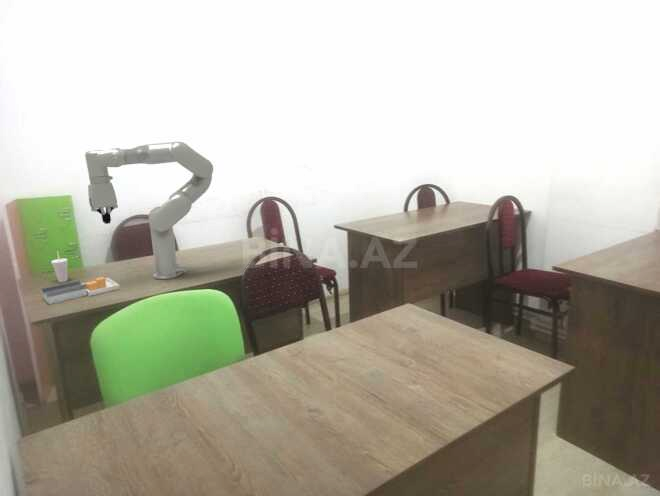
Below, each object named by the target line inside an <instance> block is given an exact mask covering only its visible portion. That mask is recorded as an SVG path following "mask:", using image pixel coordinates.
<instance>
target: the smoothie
mask: <svg viewBox="0 0 660 496" xmlns="http://www.w3.org/2000/svg"><path fill="white" fill-rule="evenodd" d="M56 255H57V259H52V260H51V261H50V263H51V265H52V267H53V270H54V274H55V276H56V278H57V283H66V282H68V281H69V277H68V276H69V275H68V258H60V253H59V251H58V250H57V251H56Z"/></svg>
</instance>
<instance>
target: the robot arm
mask: <svg viewBox="0 0 660 496" xmlns="http://www.w3.org/2000/svg"><path fill="white" fill-rule="evenodd" d="M84 156H85V162H86V166H87V167H86V168H87V173H88V178H89V183H90V184H88V187H87V191H88V193H87V194H88V203H89V207H90V211H91V212H96V213H99V214H100V215H101V220H102V222H103V223H104V224H107V225H108V224H111V221H112V218H111V214H112V212H113V211H114V210H115V209H117V208H119V206H118V199H117V198H118V197H117V195H116V191H115V188H114V186H113V183H112V182H111V181H112V180H113V179H114V178H113V176H111V175H109V168H119V167H122V166H125V165H126V166H129V165H137V164H139V165H141V164H144V165H145V164H146V165H158V164H168V163H170V164H171V163H178V164H179V165H180V166H182V167H183V168H184V169H186V170H187V171H189V172H190V173H192V176H191V178H190V179H189V180H188V181H187V182H186V183H184V185H182V186H181V187H180V188H179V189H177V190H176V191H174V192H173V193H172V194H171V195H169V198H168V200H167V201H165V202H164V203H163V204H161V206H156V207H153V208H152V209H151V210H150V211H149V213H148V225H149V228H150V236H151V244H152V252H153V260H154V269H155V272H154V273H152V277H153V279H155V280H168V279H175V278H177V277H180V276H181V275H182V273H186V272H187V268H186V266H180V263H178V261H177V252H176V246H175V245H176V244H175V243H176V242H175V235H174V226H175V225H176V224H177V223H178V222H180V221H181V220H182V219H183V218H184V217H185V216H187V215H188V214H189V212H190V211H191V209H192V206H193V204H194V203H195V202H196V201H198V199H200V198H201V197H202V196H203V195H204V194H205V193H206V192H207V190H209V188H210V186H211V183H212V179H213V173H214V165H213V164H212V162H211V161H210V160H209V159H207V158H206V157H204V156H203V155H202V154H200V153H198V152H197V151H196V150H195V149H194V148H192V147H190V146H189V145H188V144H187V143H185V142H184V141H171V142H170V141H169V142H162V143H161V142H160V143H158V142H157V143H149V144H142V145H137V146H125V147H116V148H114V147H113V148H111V149H107V150H99V149H98V150H97V149H96V150H88V151H86V152H85V155H84ZM104 208H105V209H104Z"/></svg>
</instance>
